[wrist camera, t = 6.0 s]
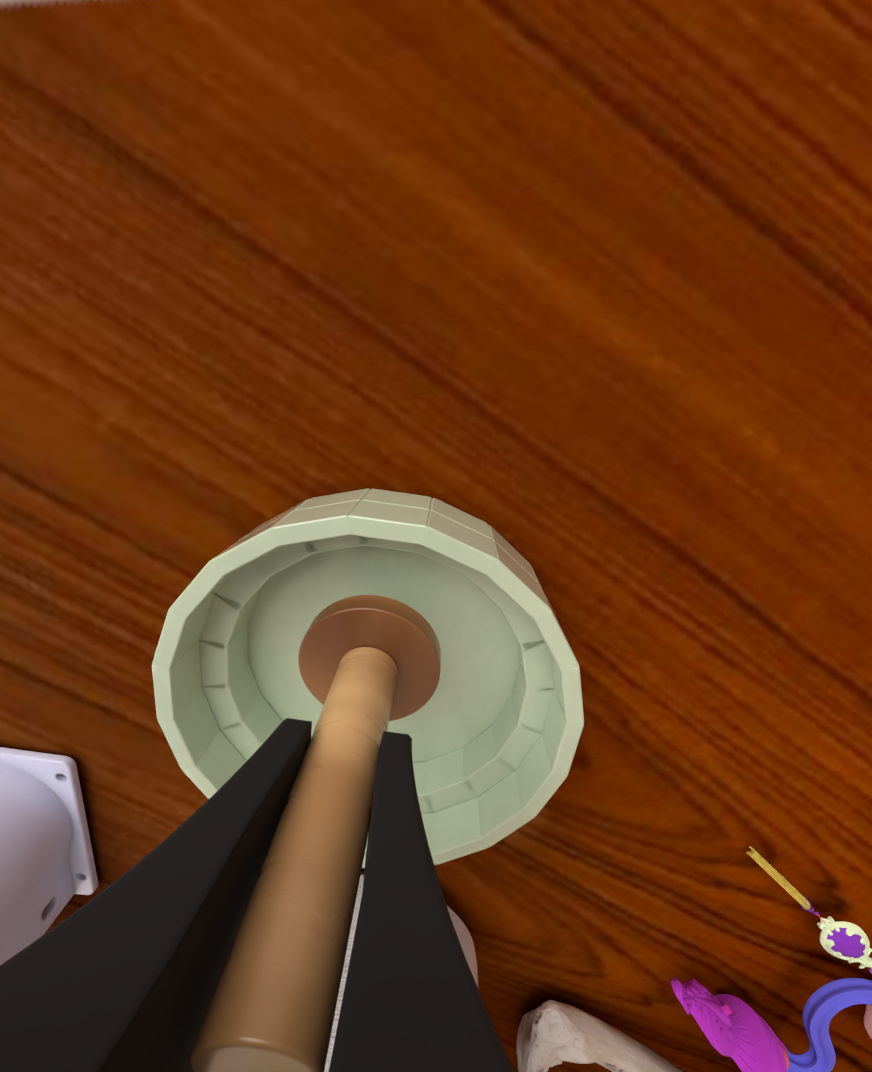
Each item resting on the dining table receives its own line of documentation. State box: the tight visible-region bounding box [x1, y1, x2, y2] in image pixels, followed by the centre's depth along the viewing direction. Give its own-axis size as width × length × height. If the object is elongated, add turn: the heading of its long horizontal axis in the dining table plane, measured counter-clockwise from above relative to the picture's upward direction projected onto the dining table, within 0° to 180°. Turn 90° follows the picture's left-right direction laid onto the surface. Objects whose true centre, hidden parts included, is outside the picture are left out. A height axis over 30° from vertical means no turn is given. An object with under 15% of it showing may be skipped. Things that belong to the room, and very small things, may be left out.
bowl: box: [152, 488, 584, 868], centre depth 16 cm, size 14×14×4 cm
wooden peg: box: [190, 595, 441, 1072], centre depth 10 cm, size 4×4×9 cm
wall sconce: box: [671, 846, 872, 1072], centre depth 22 cm, size 10×6×20 cm
